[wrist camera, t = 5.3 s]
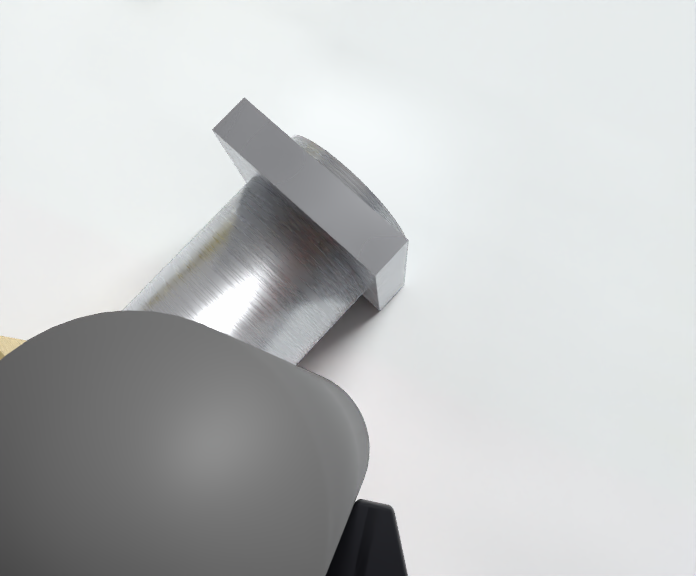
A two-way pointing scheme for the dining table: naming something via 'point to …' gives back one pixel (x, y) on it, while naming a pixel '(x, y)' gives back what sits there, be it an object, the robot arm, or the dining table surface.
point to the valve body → (280, 246)
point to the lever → (170, 454)
